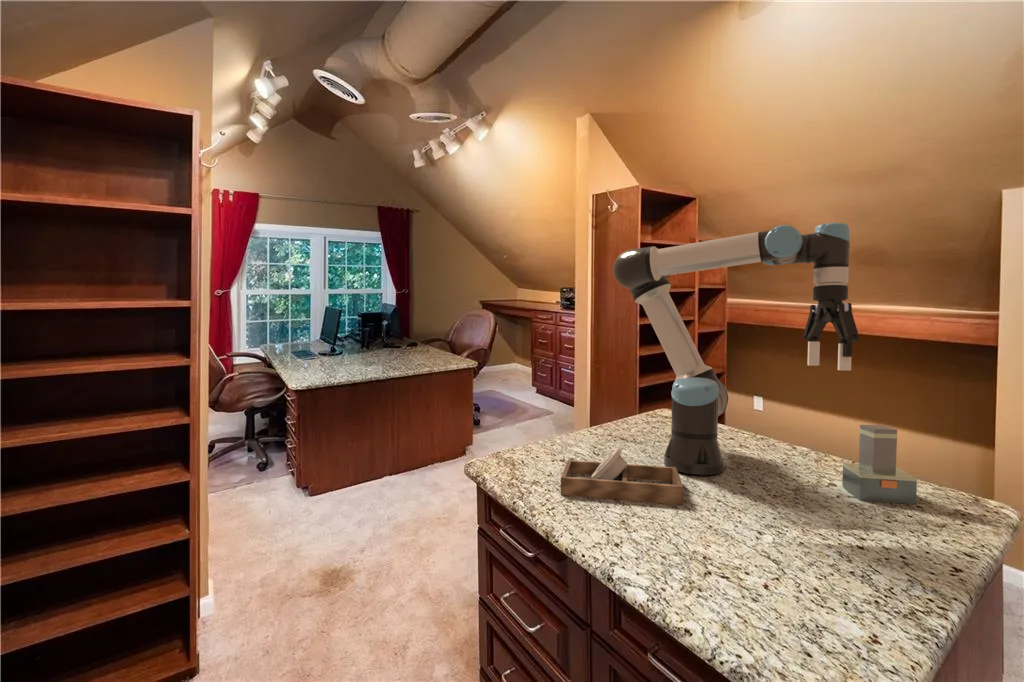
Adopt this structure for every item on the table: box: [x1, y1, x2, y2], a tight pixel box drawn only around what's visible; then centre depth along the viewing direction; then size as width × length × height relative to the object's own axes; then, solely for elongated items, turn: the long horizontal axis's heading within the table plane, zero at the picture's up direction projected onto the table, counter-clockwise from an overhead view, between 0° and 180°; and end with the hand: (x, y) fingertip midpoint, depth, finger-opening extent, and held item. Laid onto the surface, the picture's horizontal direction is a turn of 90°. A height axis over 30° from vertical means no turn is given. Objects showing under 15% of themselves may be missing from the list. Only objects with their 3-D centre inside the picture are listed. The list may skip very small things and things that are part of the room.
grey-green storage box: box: [842, 462, 918, 505], centre depth 113 cm, size 11×9×6 cm
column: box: [858, 424, 898, 473], centre depth 113 cm, size 5×5×10 cm
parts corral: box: [560, 459, 684, 506], centre depth 117 cm, size 27×15×4 cm, turn 77°
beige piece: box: [590, 447, 628, 480], centre depth 119 cm, size 10×4×10 cm
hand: (827, 367), depth 125 cm, fingers open, 13 cm apart
